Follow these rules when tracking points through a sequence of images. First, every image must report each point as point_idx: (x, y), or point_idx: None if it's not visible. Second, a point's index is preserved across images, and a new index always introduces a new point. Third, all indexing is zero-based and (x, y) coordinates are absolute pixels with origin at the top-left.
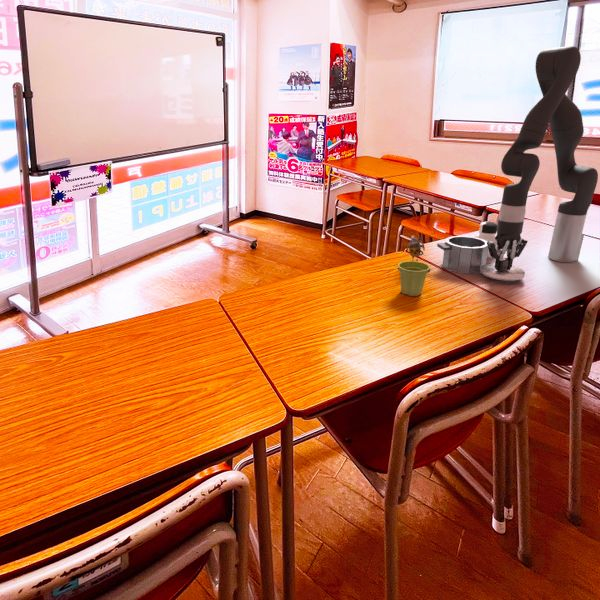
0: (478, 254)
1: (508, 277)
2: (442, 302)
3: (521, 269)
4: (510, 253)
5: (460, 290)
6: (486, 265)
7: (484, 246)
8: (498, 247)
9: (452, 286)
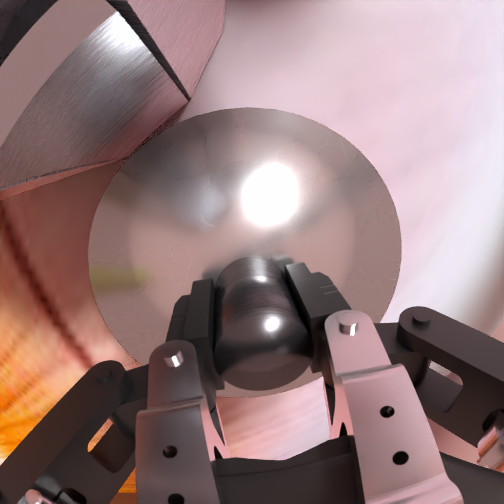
0: (6, 194)
1: (232, 392)
2: (14, 415)
3: (395, 274)
4: (329, 421)
5: (31, 374)
6: (157, 158)
7: (2, 119)
8: (162, 467)
9: (4, 339)
